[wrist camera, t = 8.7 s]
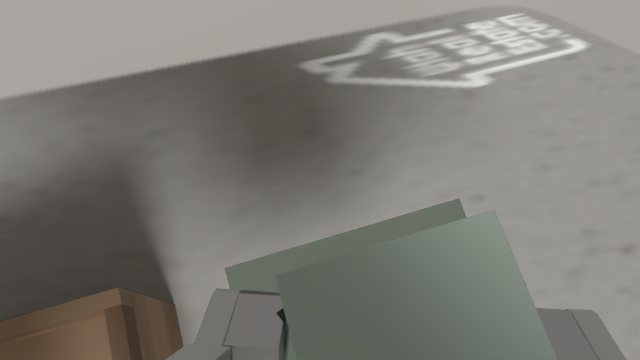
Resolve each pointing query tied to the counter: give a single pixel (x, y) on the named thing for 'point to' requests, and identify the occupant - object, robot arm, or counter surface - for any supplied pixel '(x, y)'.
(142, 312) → the walnut box
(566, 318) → the robot arm
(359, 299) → the sage lid
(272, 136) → the counter surface
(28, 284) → the counter surface
